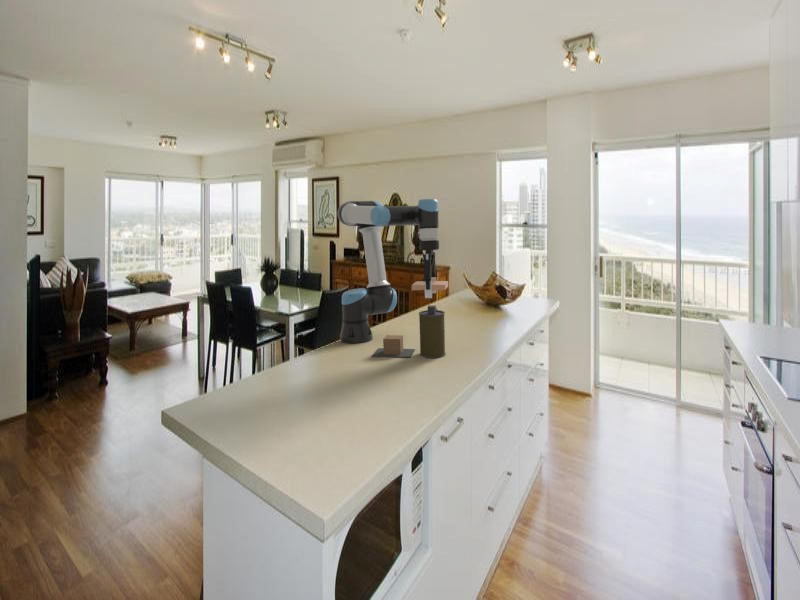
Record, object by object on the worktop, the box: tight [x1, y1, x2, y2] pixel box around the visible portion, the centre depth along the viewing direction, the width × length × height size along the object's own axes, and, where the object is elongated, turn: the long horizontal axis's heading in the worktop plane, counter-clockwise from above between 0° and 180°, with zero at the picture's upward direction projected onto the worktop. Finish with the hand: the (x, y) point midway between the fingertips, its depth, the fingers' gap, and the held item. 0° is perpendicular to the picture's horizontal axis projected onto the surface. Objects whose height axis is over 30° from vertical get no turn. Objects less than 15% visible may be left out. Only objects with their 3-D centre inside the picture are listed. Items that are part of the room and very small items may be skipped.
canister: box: [418, 305, 446, 359], centre depth 174 cm, size 11×10×20 cm
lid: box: [411, 280, 449, 291], centre depth 170 cm, size 13×11×2 cm
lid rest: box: [371, 334, 416, 359], centre depth 178 cm, size 16×11×7 cm
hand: (430, 295), depth 171 cm, fingers closed on lid, 11 cm apart
